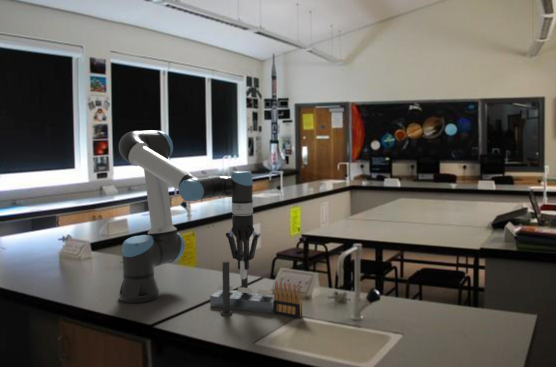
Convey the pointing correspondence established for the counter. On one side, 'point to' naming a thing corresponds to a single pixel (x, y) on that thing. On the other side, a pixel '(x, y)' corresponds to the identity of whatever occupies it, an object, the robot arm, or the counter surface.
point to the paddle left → (220, 287)
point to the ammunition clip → (287, 301)
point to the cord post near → (226, 290)
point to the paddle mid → (244, 290)
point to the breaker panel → (244, 301)
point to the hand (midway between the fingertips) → (243, 278)
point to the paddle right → (265, 292)
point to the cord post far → (244, 281)
